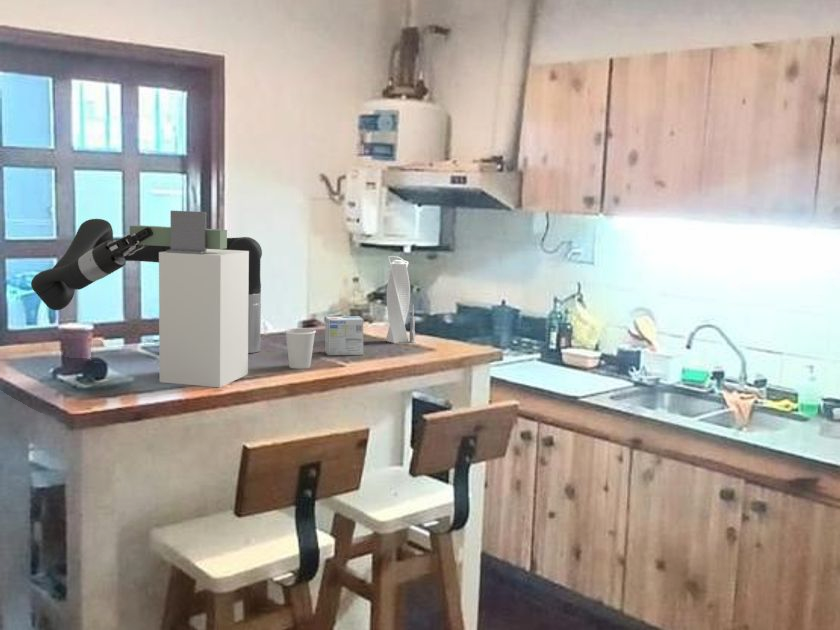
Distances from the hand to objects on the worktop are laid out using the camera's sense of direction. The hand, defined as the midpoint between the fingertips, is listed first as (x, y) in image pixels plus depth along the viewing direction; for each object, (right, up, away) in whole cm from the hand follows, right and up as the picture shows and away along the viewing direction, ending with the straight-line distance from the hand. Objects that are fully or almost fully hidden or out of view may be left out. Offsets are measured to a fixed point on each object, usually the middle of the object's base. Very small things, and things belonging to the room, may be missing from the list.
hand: (155, 230), depth 235 cm
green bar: (+6, -4, -1) cm, 7 cm away
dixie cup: (+33, -35, +24) cm, 54 cm away
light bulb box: (+43, -33, +46) cm, 71 cm away
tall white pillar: (+11, -37, +5) cm, 39 cm away
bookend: (+9, -6, -5) cm, 12 cm away
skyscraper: (+58, -30, +69) cm, 95 cm away
